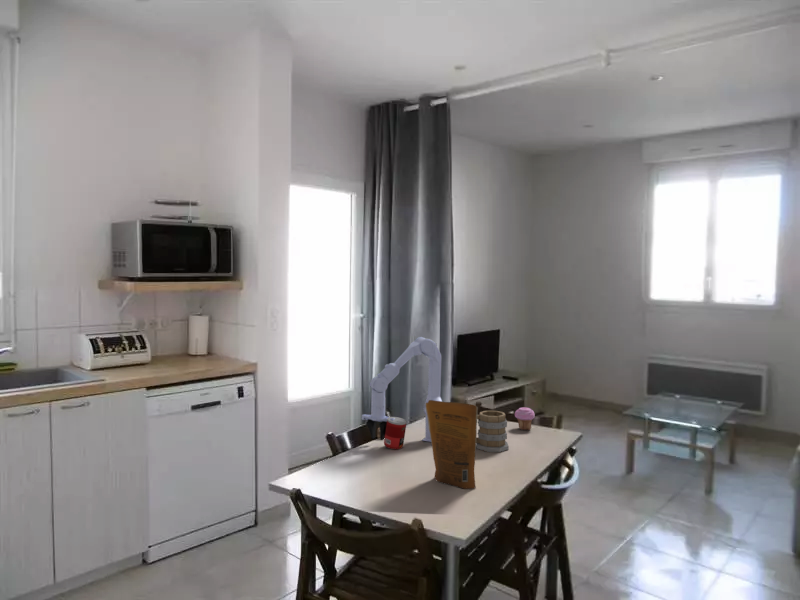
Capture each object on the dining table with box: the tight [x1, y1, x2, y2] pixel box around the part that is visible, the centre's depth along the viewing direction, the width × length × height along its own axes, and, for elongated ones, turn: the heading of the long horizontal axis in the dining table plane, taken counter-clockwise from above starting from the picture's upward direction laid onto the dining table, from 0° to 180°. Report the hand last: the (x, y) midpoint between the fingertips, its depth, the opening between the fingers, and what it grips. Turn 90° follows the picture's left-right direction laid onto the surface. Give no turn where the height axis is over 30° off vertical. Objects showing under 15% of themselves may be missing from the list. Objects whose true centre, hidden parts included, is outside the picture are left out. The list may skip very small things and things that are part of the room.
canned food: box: [383, 416, 407, 450], centre depth 226 cm, size 8×8×11 cm
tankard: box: [476, 410, 509, 453], centre depth 227 cm, size 20×13×15 cm, turn 84°
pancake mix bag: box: [425, 400, 479, 490], centre depth 186 cm, size 7×19×28 cm, turn 51°
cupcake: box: [514, 406, 536, 431], centre depth 255 cm, size 9×9×10 cm
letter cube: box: [376, 427, 380, 439], centre depth 242 cm, size 4×4×4 cm
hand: (378, 438), depth 230 cm, fingers open, 4 cm apart
